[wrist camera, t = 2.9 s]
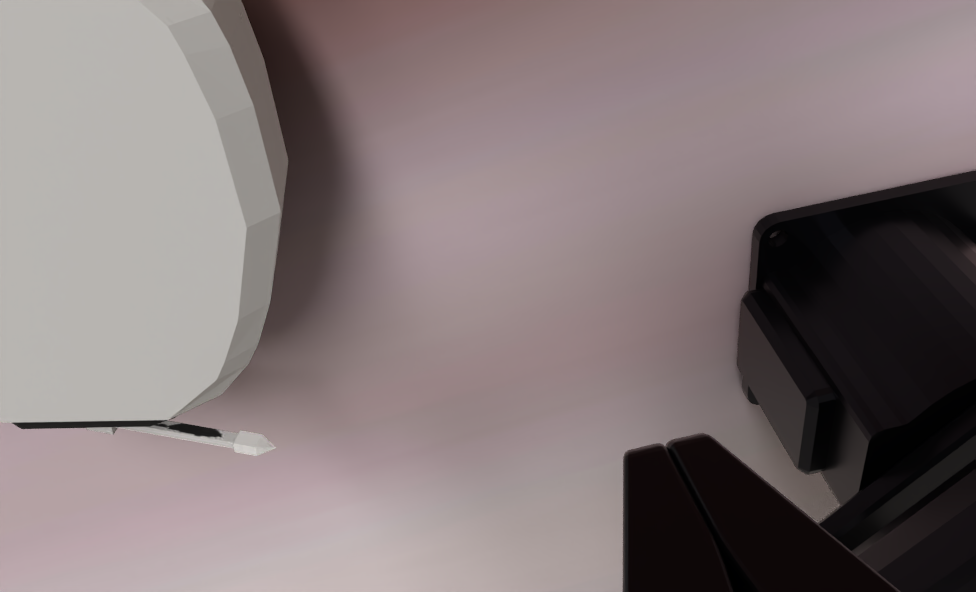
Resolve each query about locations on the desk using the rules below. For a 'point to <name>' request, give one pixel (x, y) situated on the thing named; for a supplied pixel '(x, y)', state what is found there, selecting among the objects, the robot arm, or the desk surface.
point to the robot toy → (133, 212)
